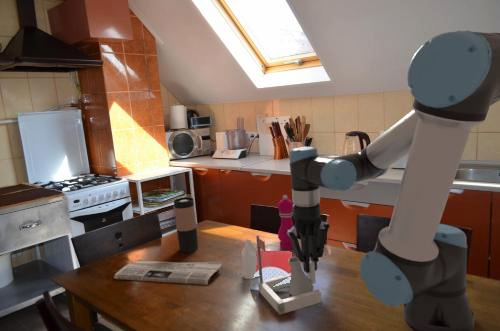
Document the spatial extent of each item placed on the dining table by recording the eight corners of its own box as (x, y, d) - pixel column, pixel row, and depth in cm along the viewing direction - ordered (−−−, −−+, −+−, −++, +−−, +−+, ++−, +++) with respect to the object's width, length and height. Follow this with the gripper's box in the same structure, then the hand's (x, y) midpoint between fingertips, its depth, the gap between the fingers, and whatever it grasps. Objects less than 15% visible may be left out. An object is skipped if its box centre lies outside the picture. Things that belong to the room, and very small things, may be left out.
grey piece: (253, 243, 115) (236, 242, 116) (256, 280, 116) (239, 278, 118) (259, 236, 120) (243, 235, 122) (262, 271, 122) (246, 270, 124)
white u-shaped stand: (321, 302, 101) (318, 242, 98) (279, 314, 96) (275, 252, 94) (296, 281, 114) (293, 227, 111) (258, 291, 109) (254, 235, 107)
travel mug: (177, 248, 149) (171, 199, 146) (195, 243, 152) (190, 196, 149) (182, 254, 142) (176, 203, 139) (201, 249, 145) (196, 199, 142)
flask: (311, 280, 110) (303, 250, 108) (316, 294, 103) (308, 262, 101) (287, 287, 110) (279, 256, 108) (291, 301, 103) (282, 269, 101)
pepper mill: (276, 249, 139) (273, 197, 136) (280, 242, 146) (277, 192, 143) (296, 250, 137) (292, 197, 134) (299, 243, 144) (296, 192, 141)
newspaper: (114, 280, 126) (113, 270, 125) (135, 264, 137) (134, 255, 137) (212, 286, 116) (211, 275, 115) (225, 269, 127) (224, 259, 127)
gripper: (319, 196, 109) (323, 271, 114) (279, 203, 105) (285, 281, 109) (333, 201, 102) (337, 281, 107) (291, 210, 98) (297, 293, 102)
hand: (311, 281), depth 108 cm, fingers closed
